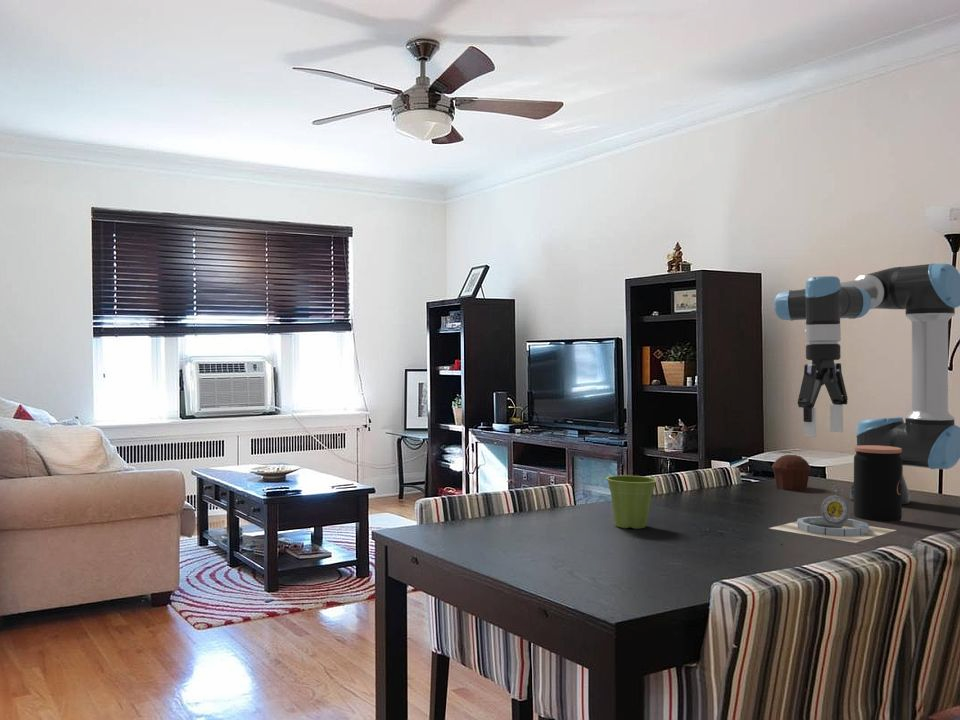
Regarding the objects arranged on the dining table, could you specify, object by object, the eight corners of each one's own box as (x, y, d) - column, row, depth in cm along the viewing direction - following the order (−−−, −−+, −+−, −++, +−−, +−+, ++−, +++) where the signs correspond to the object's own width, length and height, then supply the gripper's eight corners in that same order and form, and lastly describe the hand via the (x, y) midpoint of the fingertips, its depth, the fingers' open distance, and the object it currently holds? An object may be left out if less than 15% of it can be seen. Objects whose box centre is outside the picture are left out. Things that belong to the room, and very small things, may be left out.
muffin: (805, 492, 255) (805, 458, 255) (767, 489, 262) (767, 456, 262) (814, 487, 265) (814, 454, 265) (777, 484, 271) (777, 452, 271)
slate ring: (817, 520, 205) (817, 514, 205) (879, 529, 194) (879, 523, 194) (785, 528, 196) (785, 521, 196) (849, 538, 185) (849, 531, 185)
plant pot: (645, 533, 194) (646, 483, 194) (597, 527, 201) (597, 479, 201) (664, 525, 204) (664, 477, 204) (617, 519, 211) (617, 473, 211)
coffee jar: (907, 526, 204) (907, 450, 204) (859, 524, 206) (859, 449, 206) (894, 518, 214) (895, 445, 214) (849, 516, 217) (849, 444, 216)
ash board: (812, 521, 209) (812, 517, 209) (896, 534, 194) (896, 530, 194) (768, 532, 196) (768, 528, 196) (855, 547, 181) (855, 542, 181)
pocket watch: (812, 524, 190) (817, 479, 192) (807, 524, 198) (812, 481, 200) (852, 531, 188) (856, 485, 190) (845, 530, 196) (850, 487, 198)
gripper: (831, 343, 212) (832, 429, 212) (781, 343, 195) (782, 437, 195) (862, 342, 207) (862, 431, 207) (813, 343, 190) (813, 439, 190)
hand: (823, 434), depth 201 cm, fingers open, 13 cm apart
